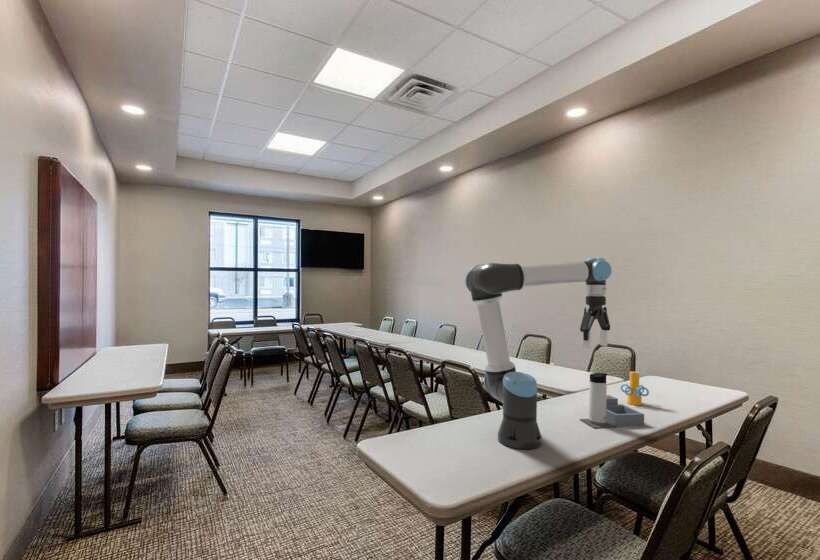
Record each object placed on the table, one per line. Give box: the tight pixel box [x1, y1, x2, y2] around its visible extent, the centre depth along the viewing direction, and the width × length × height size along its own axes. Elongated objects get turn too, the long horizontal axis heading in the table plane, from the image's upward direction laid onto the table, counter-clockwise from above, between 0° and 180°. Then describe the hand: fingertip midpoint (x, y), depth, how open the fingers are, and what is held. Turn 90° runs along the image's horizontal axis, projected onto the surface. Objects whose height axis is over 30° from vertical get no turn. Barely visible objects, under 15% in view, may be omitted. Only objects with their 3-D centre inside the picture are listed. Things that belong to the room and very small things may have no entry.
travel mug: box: [588, 372, 608, 425], centre depth 162 cm, size 6×7×20 cm
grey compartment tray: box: [606, 394, 645, 427], centre depth 169 cm, size 12×19×7 cm, turn 8°
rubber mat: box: [579, 418, 618, 429], centre depth 162 cm, size 10×10×1 cm
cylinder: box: [620, 371, 650, 406], centre depth 190 cm, size 12×10×15 cm
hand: (595, 347), depth 164 cm, fingers open, 13 cm apart
